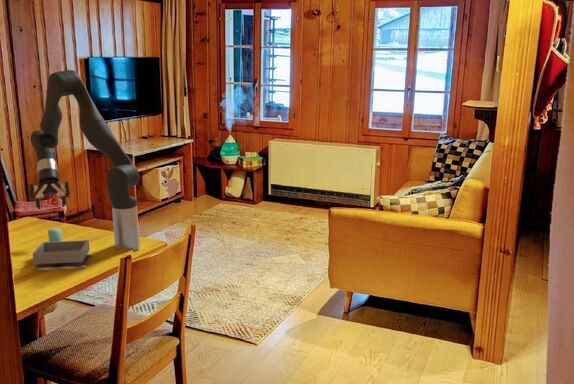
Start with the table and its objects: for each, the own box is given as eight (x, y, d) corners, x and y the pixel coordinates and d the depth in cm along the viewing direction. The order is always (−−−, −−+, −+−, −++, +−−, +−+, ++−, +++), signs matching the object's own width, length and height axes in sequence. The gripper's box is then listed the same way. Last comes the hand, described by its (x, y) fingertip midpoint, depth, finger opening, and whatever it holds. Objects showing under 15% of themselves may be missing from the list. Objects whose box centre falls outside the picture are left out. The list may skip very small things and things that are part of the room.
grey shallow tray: (90, 255, 194) (88, 240, 193) (83, 268, 183) (81, 251, 181) (44, 258, 192) (42, 241, 190) (34, 270, 180) (32, 253, 179)
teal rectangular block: (64, 253, 200) (62, 228, 197) (61, 257, 195) (59, 231, 193) (52, 253, 199) (49, 228, 196) (49, 257, 195) (46, 232, 192)
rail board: (93, 258, 195) (92, 253, 194) (86, 270, 183) (86, 266, 183) (41, 260, 192) (41, 256, 191) (31, 273, 180) (31, 268, 180)
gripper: (27, 168, 205) (30, 204, 198) (67, 166, 211) (71, 200, 204) (29, 178, 211) (31, 213, 204) (67, 176, 217) (71, 210, 209)
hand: (51, 207), depth 204 cm, fingers open, 8 cm apart
